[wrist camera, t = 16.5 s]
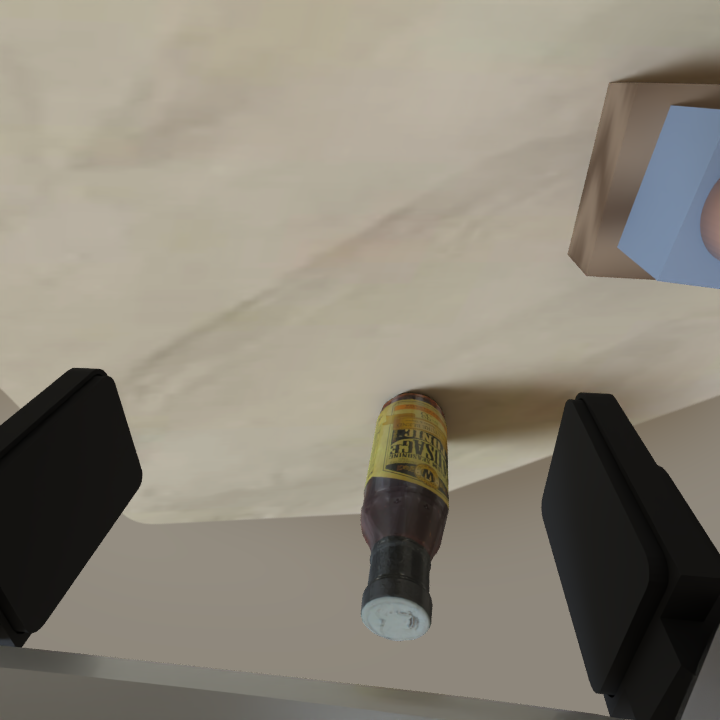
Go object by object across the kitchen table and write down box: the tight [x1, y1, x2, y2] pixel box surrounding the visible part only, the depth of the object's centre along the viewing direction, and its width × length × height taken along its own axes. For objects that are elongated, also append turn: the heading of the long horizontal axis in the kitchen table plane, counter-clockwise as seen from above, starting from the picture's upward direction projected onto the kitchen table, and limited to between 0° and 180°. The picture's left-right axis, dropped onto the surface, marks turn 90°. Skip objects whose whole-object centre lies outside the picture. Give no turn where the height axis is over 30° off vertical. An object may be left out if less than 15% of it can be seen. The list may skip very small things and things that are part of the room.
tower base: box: [568, 83, 720, 280], centre depth 31 cm, size 11×11×5 cm
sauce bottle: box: [361, 393, 449, 641], centre depth 36 cm, size 6×6×20 cm
